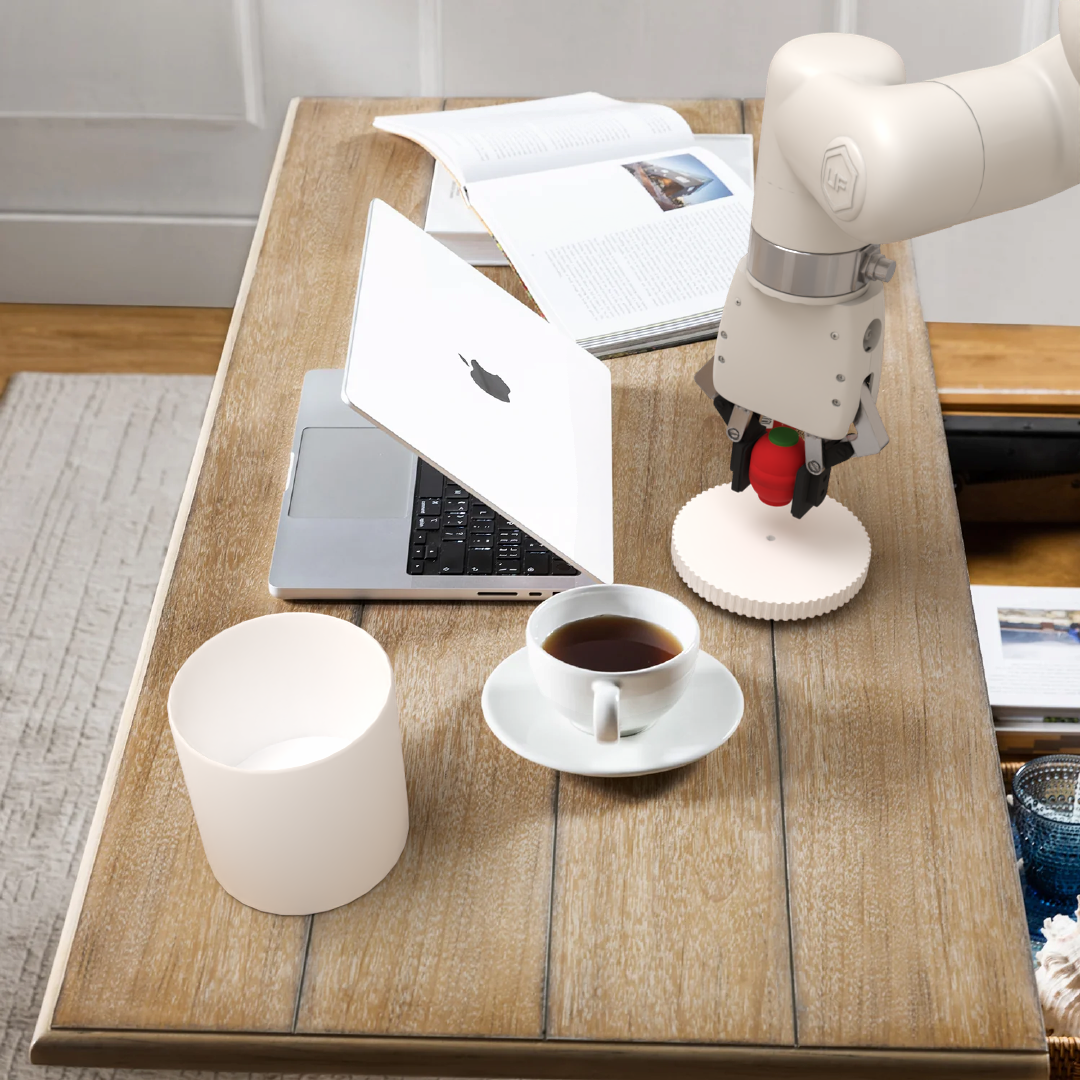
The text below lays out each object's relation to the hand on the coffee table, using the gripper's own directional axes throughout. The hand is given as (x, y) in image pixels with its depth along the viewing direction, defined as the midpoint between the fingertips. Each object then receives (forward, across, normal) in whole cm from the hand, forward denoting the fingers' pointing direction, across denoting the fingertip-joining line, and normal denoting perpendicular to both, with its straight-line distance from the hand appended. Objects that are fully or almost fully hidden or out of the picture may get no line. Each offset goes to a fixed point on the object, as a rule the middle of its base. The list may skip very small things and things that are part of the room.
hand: (775, 492), depth 88 cm
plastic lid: (+7, 0, 0) cm, 7 cm away
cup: (+7, +9, +37) cm, 39 cm away
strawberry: (0, 0, 0) cm, 0 cm away
